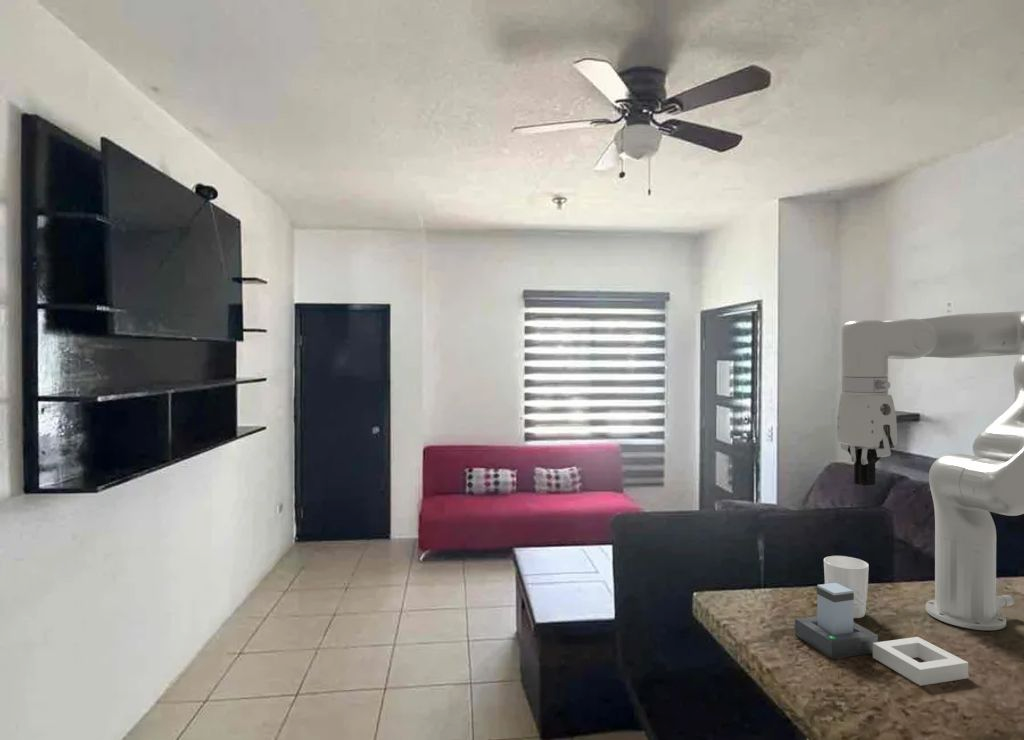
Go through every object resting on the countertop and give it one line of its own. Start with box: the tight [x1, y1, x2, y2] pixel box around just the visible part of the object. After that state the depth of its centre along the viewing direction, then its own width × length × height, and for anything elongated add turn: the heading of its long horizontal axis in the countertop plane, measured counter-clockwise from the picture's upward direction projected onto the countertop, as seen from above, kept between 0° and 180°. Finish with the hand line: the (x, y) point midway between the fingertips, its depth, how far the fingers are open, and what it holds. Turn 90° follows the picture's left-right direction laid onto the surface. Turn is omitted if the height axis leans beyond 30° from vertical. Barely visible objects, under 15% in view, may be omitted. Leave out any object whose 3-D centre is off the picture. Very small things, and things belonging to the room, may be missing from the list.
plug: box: [816, 583, 854, 635], centre depth 108 cm, size 4×4×10 cm
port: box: [794, 615, 879, 660], centre depth 109 cm, size 9×9×3 cm
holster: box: [872, 636, 969, 686], centre depth 100 cm, size 9×9×2 cm
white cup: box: [823, 555, 870, 619], centre depth 122 cm, size 8×8×10 cm
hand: (864, 484), depth 114 cm, fingers closed
